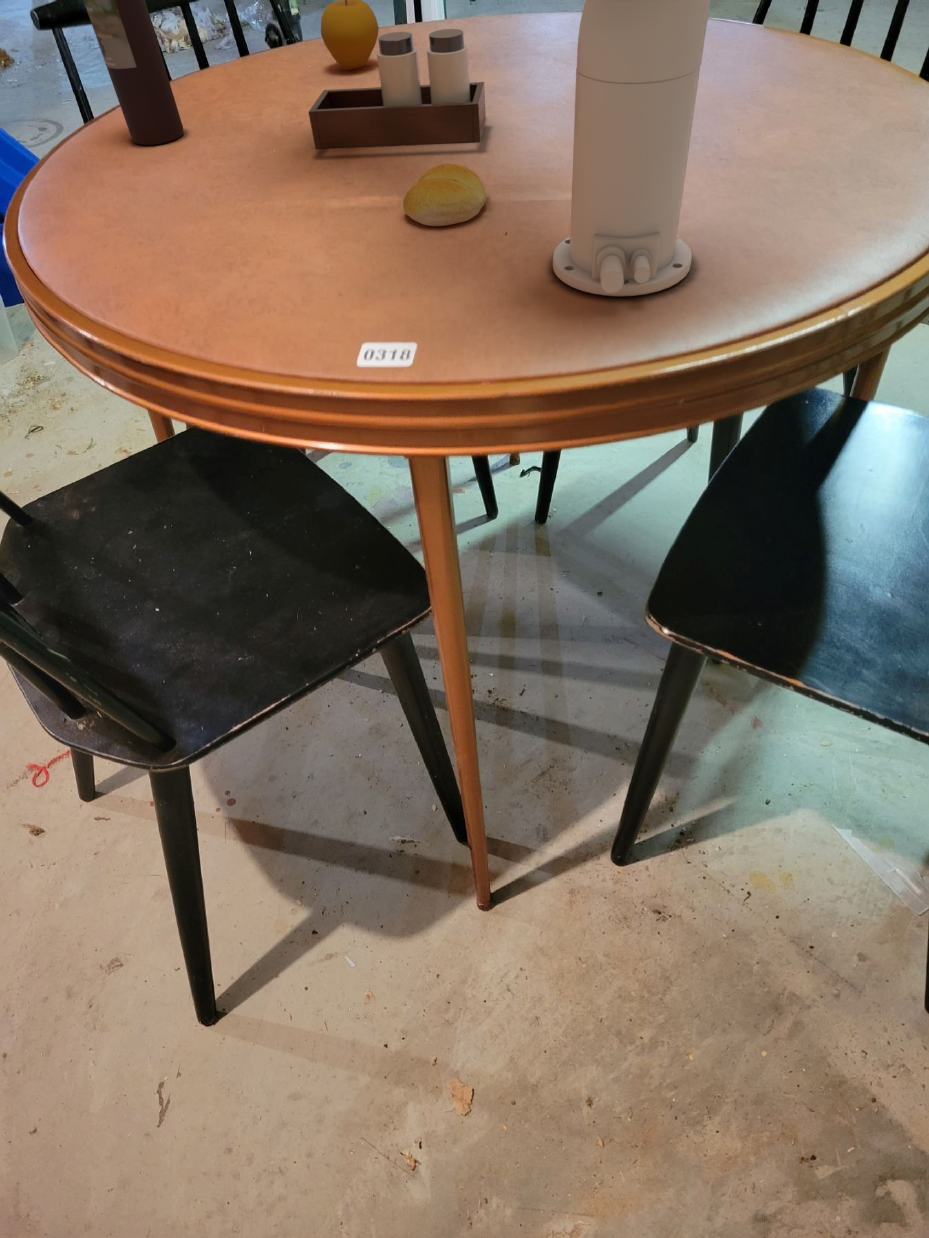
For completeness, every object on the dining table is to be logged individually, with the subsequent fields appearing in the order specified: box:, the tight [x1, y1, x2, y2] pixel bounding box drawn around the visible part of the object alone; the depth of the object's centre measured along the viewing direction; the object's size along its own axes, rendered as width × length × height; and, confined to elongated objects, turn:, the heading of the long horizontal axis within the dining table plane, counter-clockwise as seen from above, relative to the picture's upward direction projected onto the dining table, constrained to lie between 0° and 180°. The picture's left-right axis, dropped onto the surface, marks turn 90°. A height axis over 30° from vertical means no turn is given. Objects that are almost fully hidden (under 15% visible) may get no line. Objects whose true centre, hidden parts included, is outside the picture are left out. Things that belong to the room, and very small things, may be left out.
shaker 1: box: [376, 31, 422, 106], centre depth 93 cm, size 5×5×10 cm
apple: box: [320, 0, 380, 71], centre depth 119 cm, size 9×9×9 cm
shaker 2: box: [426, 28, 471, 104], centre depth 93 cm, size 5×5×10 cm
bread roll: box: [402, 163, 487, 227], centre depth 81 cm, size 8×9×4 cm
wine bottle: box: [83, 0, 184, 146], centre depth 95 cm, size 7×7×30 cm
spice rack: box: [308, 81, 487, 150], centre depth 96 cm, size 21×9×5 cm, turn 85°
